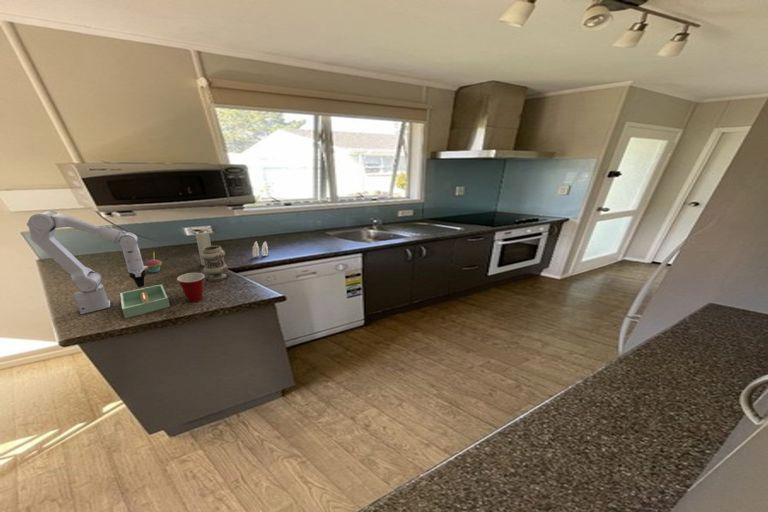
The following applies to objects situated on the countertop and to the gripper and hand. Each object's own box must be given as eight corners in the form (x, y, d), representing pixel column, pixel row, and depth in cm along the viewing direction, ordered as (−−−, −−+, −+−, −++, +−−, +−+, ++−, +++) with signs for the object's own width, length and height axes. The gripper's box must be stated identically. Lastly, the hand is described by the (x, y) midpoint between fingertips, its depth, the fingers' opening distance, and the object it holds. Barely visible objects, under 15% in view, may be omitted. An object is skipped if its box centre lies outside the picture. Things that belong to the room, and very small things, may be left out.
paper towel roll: (200, 264, 181) (193, 231, 175) (210, 262, 186) (204, 230, 179) (204, 267, 177) (197, 233, 170) (214, 265, 181) (208, 232, 174)
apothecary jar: (206, 275, 165) (201, 245, 159) (230, 272, 170) (225, 243, 164) (203, 283, 154) (197, 251, 149) (228, 280, 159) (223, 249, 153)
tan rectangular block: (143, 309, 125) (138, 291, 125) (142, 307, 137) (138, 291, 136) (151, 307, 127) (147, 290, 127) (150, 306, 139) (146, 290, 138)
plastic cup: (201, 304, 132) (196, 280, 129) (177, 304, 131) (171, 281, 128) (213, 294, 143) (208, 271, 139) (190, 294, 142) (185, 272, 138)
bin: (124, 318, 120) (122, 309, 118) (122, 301, 133) (120, 293, 132) (170, 306, 130) (168, 297, 128) (163, 292, 143) (161, 284, 142)
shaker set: (254, 259, 192) (252, 243, 188) (250, 258, 194) (248, 242, 191) (270, 255, 201) (268, 239, 198) (266, 253, 203) (264, 238, 200)
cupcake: (162, 267, 175) (157, 248, 171) (164, 271, 169) (159, 252, 165) (144, 270, 169) (139, 251, 165) (146, 275, 163) (140, 255, 159)
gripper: (146, 261, 128) (153, 289, 132) (143, 253, 138) (150, 279, 142) (125, 265, 123) (133, 293, 127) (124, 256, 133) (131, 283, 137)
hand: (141, 286), depth 134 cm, fingers closed
